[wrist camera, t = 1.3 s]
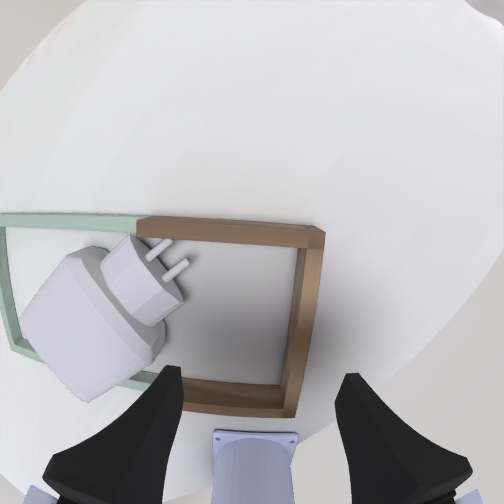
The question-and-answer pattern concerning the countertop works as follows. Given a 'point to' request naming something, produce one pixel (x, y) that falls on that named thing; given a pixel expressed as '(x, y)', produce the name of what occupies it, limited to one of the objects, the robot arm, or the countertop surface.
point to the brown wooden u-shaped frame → (301, 318)
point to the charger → (103, 315)
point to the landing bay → (3, 297)
